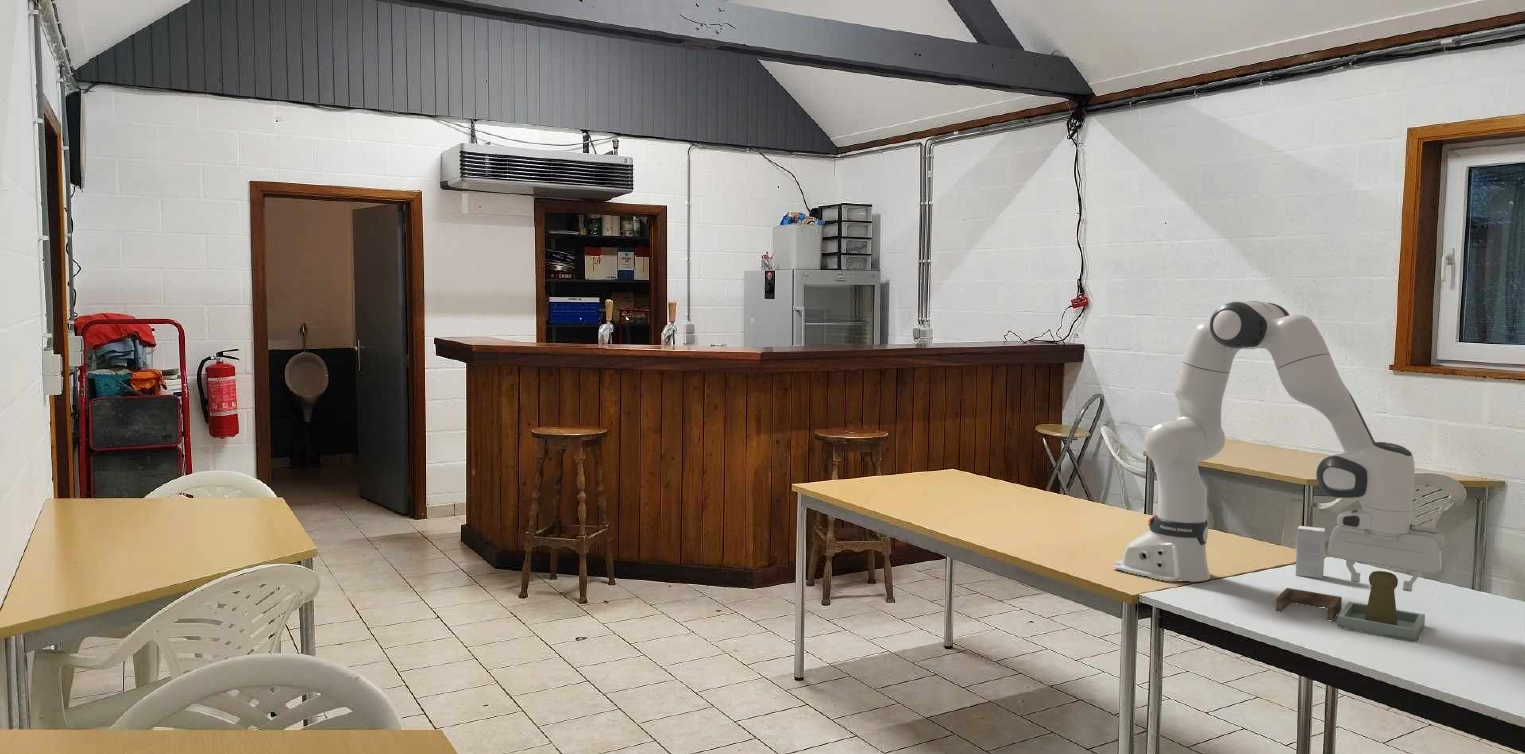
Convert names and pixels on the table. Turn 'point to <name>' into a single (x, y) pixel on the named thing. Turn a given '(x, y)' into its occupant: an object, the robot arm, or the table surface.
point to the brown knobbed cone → (1382, 598)
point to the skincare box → (1310, 552)
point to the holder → (1310, 601)
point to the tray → (1406, 621)
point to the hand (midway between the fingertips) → (1381, 586)
